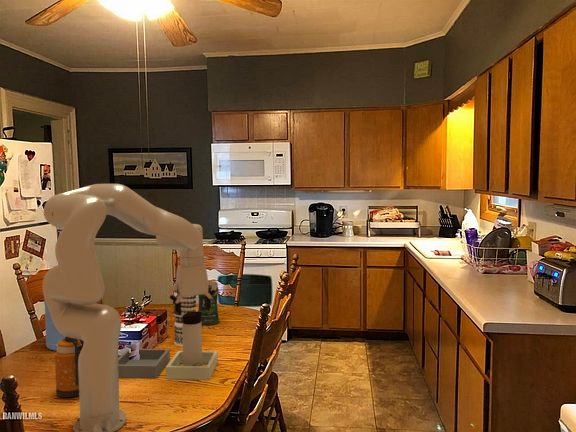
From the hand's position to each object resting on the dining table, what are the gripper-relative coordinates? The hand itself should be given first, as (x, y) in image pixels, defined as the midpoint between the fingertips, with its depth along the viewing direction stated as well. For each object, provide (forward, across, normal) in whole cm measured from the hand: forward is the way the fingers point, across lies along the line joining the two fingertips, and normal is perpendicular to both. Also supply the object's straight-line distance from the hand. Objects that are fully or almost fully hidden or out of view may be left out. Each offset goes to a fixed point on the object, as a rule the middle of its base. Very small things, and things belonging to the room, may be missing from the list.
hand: (193, 311), depth 148 cm
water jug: (+20, +37, -48) cm, 63 cm away
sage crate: (+20, +1, 0) cm, 20 cm away
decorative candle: (+21, -4, -28) cm, 35 cm away
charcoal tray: (+20, +16, -10) cm, 27 cm away
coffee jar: (+21, -20, -48) cm, 56 cm away
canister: (+20, +37, 0) cm, 42 cm away
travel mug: (+20, +1, 0) cm, 20 cm away
